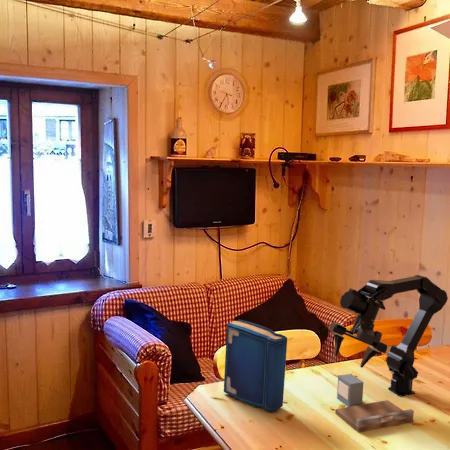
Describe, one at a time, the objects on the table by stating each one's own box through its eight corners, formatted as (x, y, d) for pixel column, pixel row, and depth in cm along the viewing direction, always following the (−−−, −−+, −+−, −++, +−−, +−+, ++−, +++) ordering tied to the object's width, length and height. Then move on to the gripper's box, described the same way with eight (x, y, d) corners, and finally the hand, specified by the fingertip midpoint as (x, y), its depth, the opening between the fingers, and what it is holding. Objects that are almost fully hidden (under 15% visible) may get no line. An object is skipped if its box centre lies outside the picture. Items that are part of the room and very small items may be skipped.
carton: (349, 396, 175) (350, 373, 174) (362, 405, 168) (363, 382, 167) (336, 398, 173) (337, 375, 172) (348, 408, 167) (349, 384, 166)
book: (287, 409, 165) (290, 333, 162) (273, 416, 159) (276, 338, 156) (236, 387, 179) (238, 317, 176) (222, 394, 174) (224, 322, 171)
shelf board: (387, 404, 170) (388, 394, 169) (413, 421, 158) (414, 411, 158) (335, 413, 162) (335, 402, 162) (358, 432, 151) (358, 421, 151)
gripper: (347, 309, 161) (328, 356, 161) (401, 332, 162) (382, 379, 161) (337, 305, 172) (319, 349, 172) (388, 326, 173) (371, 370, 172)
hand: (348, 361), depth 169 cm, fingers open, 9 cm apart
